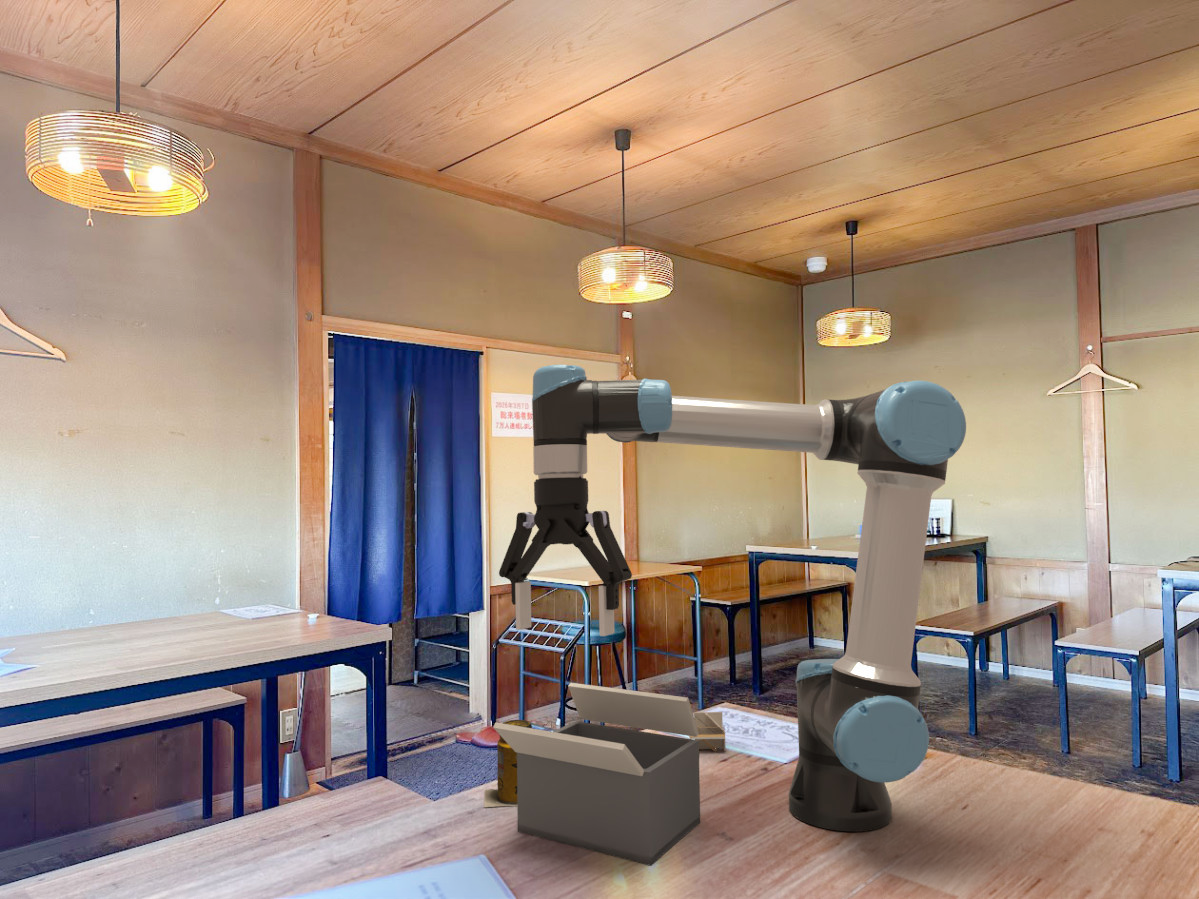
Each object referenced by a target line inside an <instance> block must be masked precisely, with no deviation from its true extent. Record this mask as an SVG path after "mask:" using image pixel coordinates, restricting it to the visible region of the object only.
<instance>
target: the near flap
mask: <svg viewBox="0 0 1199 899" xmlns="http://www.w3.org/2000/svg"><path fill="white" fill-rule="evenodd" d="M493 729H494V731H496V733H498V734H500V736H501V737H502V738H503V739H504V740H505V741H506V742H507V743H508V744H509V745H510V747H511V748H512V749H513V750H514V751H515V752H517V753H523V754H528V755H533V756H538V757H544V758H549V759H554V760H559V761H564V762H570V763H575V764H580V765H585V766H591V767H596V768H601V769H606V770H611V771H617V772H622V773H627V774H632V775H637V776H643V773H644V770H643V768H642V767H641V766H640V764H639V763H638V762H637V760H636V759H635V757H634V756H633V755H632V753H631V752H630V751H629V749H628V748H627V747H626V745H625V744H621V743H615V742H609V741H603V740H597V739H591V738H585V737H579V736H573V735H568V734H562V733H556V732H553V731H550V730H549V731H548V730H544V729H538V728H533V727H532V728H526V727H520V726H515V725H509V724H503V722H502V723H501V722H495V723H494V725H493ZM500 736H499V737H500Z"/></svg>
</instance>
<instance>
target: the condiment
mask: <svg viewBox="0 0 1199 899" xmlns="http://www.w3.org/2000/svg"><path fill="white" fill-rule="evenodd" d="M502 723H503V724H509V725H515V726H520V727H526V728H532V729H533V726H532V723H531V722H530V721H528V720H526V719H525V720H524V719H510V720H506V721H504V722H502ZM498 734H499V733H498ZM496 747H497V749H496V750H497V754H496V755H497V763H496V764H497V767H496V769H497V773H496V776H497V780H496V781H497V789H494V788H493V789H492V788H489V789H484V806H483V807H484V808H491V807H492V808H495V807H517V752H515V751H514V750H513V749H512V748H511V747H510V745H509V744H508V743H507V742H506V741H505V740H504V739H503V738H502V737H501V736H500V734H499V739H498V740H497V746H496ZM498 802H499V803H498Z"/></svg>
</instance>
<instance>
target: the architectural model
mask: <svg viewBox="0 0 1199 899" xmlns="http://www.w3.org/2000/svg"><path fill="white" fill-rule="evenodd" d="M693 716H694V719H695V722H696V726H697V729H698V732H699V734H698V736H697V737H693V736H688V737H689V738H688V739H692V740H699V750H712V751H713V752H716V751H717V749H715V748H723V749H722V750H723V751H726V752H727V750H726V748H727V747H726V746H727V745H726V732H725V726H723V711H700V712H699V711H698V712H693Z"/></svg>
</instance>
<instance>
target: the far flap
mask: <svg viewBox="0 0 1199 899" xmlns="http://www.w3.org/2000/svg"><path fill="white" fill-rule="evenodd" d="M567 687H568V690H569V691H570V696H571V698H572V701H573V703H574V706H575V709H576V711H577V714H578V717H579V719H580V720H585V721H590V722H591V721H592V722H596V723H597V722H598V723H604V724H611V725H617V726H624V727H629V728H636V729H644V730H650V731H655V732H663V733H668V734H675V735H680V736H681V735H682V736H688V737H689V736H693V737H697V736H698V734H699V732H698V729H697V726H696V722H695V719H694V712H693V709H692V707H691V706H692V705H691V702H690V699H689V697H688V696H687V697H686V696H676V695H670V694H662V693H654V692H646V691H638V690H632V689H631V690H630V689H624V688H623V689H622V688H615V687H607V686H600V685H599V686H598V685H592V684H583V683H576V682H569V684H568V686H567Z"/></svg>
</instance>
